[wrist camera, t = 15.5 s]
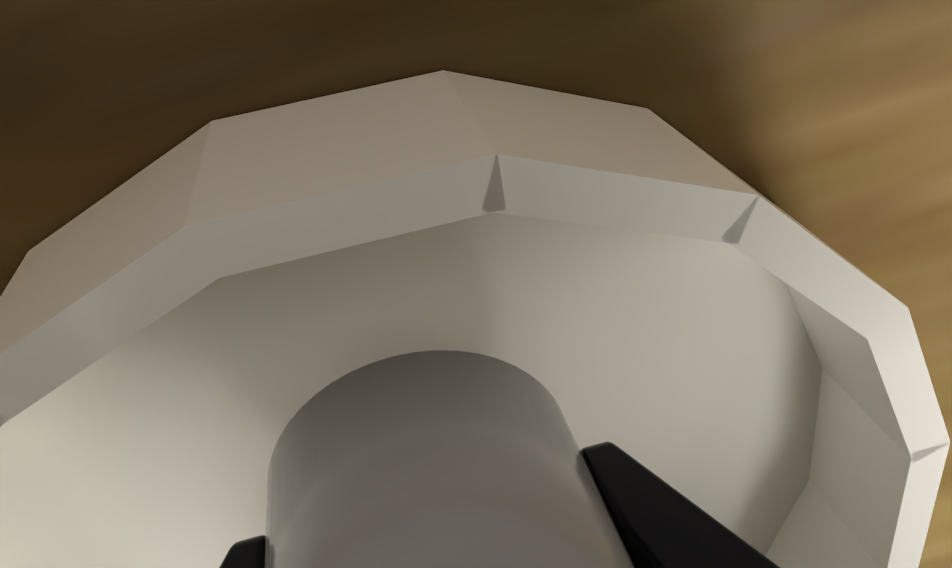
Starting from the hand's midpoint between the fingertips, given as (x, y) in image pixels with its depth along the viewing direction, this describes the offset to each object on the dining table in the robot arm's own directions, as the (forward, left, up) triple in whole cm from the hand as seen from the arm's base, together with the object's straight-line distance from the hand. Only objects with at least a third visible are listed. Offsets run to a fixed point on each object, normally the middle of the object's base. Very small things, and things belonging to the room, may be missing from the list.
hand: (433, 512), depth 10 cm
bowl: (-3, 0, -3) cm, 4 cm away
